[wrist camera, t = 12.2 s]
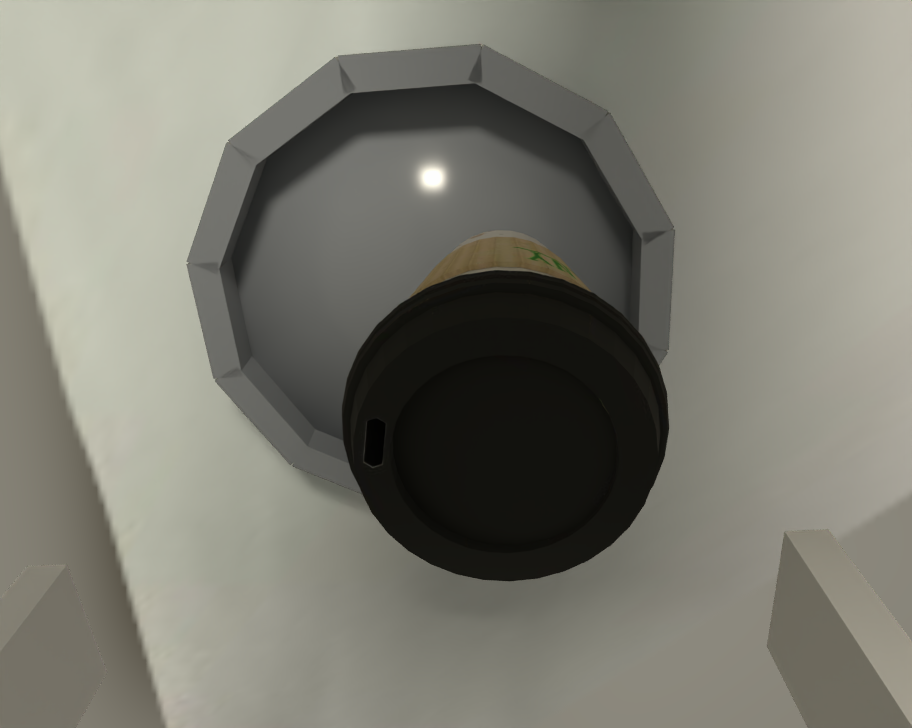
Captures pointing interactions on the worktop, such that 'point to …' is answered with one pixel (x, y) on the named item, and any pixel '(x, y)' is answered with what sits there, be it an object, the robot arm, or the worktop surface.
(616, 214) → the tray
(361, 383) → the coffee cup
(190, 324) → the worktop surface
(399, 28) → the worktop surface
